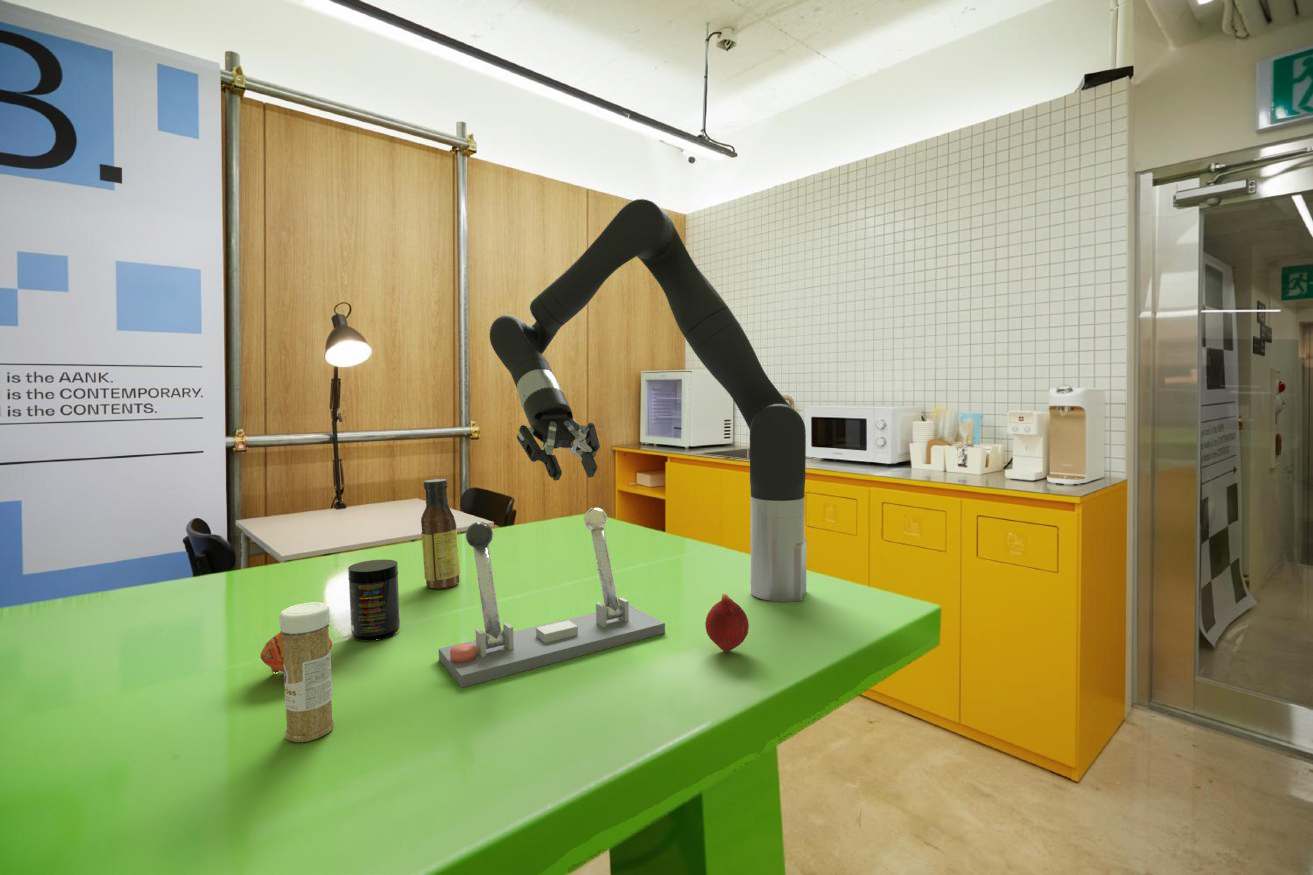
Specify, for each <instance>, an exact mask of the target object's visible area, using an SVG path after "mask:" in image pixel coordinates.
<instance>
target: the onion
mask: <svg viewBox="0 0 1313 875" xmlns="http://www.w3.org/2000/svg"><path fill="white" fill-rule="evenodd" d="M704 623H705V624H704V625H705V631H706V635H707V636H708V638H709V639H710V640H711V641H712V642H713V643H714V644H715V645H716V646H717V647H718V648H719V649H720V650H721V651H723V652H725V653H728V652H731V651H732V650H733V649H735V648H737V647H738V646H740V645H741V644H742V643H744V641H745V640H746V637H747V636H748V634H749V628H750V625H749V624H750V623H749V619H748V616H747V613H746V612H745V611H744V609H743V608H742V607H741V606H740V605H739V603H737V602H735V601H734V600H733V599H731V598H730V597H729V595H728V594H727V593H722V594H721V599H720V600H719V601H718V602H717V603H715V604H714V605H713V606H712V607H711V609H710V610H709V611H708V613H707V615H706V617H705V622H704Z"/></svg>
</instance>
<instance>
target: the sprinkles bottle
mask: <svg viewBox="0 0 1313 875" xmlns="http://www.w3.org/2000/svg"><path fill="white" fill-rule="evenodd" d="M330 613H331V611H330V607H329V605H328V604H327V603H323V602H320V601H319V602H318V601H317V602H315V601H313V602H311V601H310V602H305V603H298V604H295V605H294V604H293V605H291V606H289V607H286V608H284V609H282V611H281V612H280V613H279V630H280V631H282V632H281V633H282V635H283V652H284V664H283V666H284V672H283V682H284V706H285V713H286V714H285V716H286V730H285V738H286V739H287V740H288V741H290V742H293V743H305V742H311V741H314V740H316V739H319V738H322V737H324V736H326V735H327V734H329V733H330V732H331V731H332V730H333V728H334V726H335V722H334V719H333V707H332V706H333V704H332V698H333V685H332V661H331V649H330V648H329V638H330V635H329V634H330V633H329V627H330V622H331V617H330Z"/></svg>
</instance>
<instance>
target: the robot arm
mask: <svg viewBox="0 0 1313 875" xmlns="http://www.w3.org/2000/svg"><path fill="white" fill-rule="evenodd" d="M636 257H637V258H638V259H639V260H640V261H641V262H642V264H643V265H645V267H646V268H647V269H648V271H649V272H650V274H652V276H653V278H654V279H655V280H656V282H658V283H657V284H659V286H660V287H661V289H662V291H663V292H664V294H665V297H666V299H667V302H668V305H669V308H670V311H671V314H672V315H673V318H674V320H675V321H676V325H677V327H678V329H679V330H680V332H681V334H682V335H683V337H684V338H685V340H686V341H687V343H688V345H689V346H690V348H691V349H692V351H693V352H694V354H695V355H696V357H697V358H698V359H699V360H700V362H701V363H702V365H703V366H704V367H705V368H706V370H708V372H709V373H710V374H711V375H712V376H713V378H714V379H715V380H716V381H717V382H718V383H719V384H720V385H721V386H722V387H723V389H724V390H725V391H726V392H727V393H728V394H729V396H730V397H731V399H732V400H733V402H734V403H735V405H736V406H737V408H738V410H739V412H740V414H741V416H742V417H743V419H744V421H745V423H746V425H747V427H748V430H749V482H750V484H749V485H750V487H749V488H750V593H751V595H752V596H754V597H755V598H758V599H760V600H765V601H769V602H770V601H771V602H792V601H793V602H794V601H797V602H802V601H803V598H804V597H805V594H806V592H807V538H806V537H805V505H806V504H805V501H806V500H805V499H806V498H805V497H806V496H805V494H806V492H805V490H806V489H805V488H806V455H807V453H806V452H807V440H806V439H807V434H806V425H805V421H804V419H803V418H802V416H801V415H800V413H799V412H798V411H796V409H795V408H793V406H791V405H790V404H789V402H788V401H787V400H786V399H785V397H783V395H782V394H781V392H780V391H779V390H778V388H776V387H775V385H774V384H773V383H772V381H771V380H770V379H769V377H768V375H767V374H766V372H765V370H764V368H763V367H762V365H761V362H760V361H759V358H758V357H757V353H756V351H755V350H754V347H753V346H752V343H751V342H750V340H749V337H747V334H746V333H745V331H744V329H743V328H742V326H741V324H740V322H739V321H738V319H737V318H736V317H735V314H734V313H733V312H732V310H731V309H730V308H729V306H728V304H727V303H726V302H725V301H724V299H723V298H722V297H721V295H720V293H719V292H718V291H717V290H716V288H715V287H714V286H713V285H712V284H711V282H710V281H709V279H708V278H707V277H706V276H705V275H704V274H703V273H702V271H700V269H699V268H698V267H697V265H696V263H695V262H694V260H693V258H692V256H691V255H690V253H689V252H688V249H687V248H686V246H685V244H684V242H683V240H682V238H681V236H680V235H679V232H678V230H677V228H676V226H675V224H674V222H673V220H672V218H671V217H670V215H669V214H668V212H666V211H665V210H664V209H662V207H661V206H660V205H658V204H657V203H655V202H653V201H652V200H649V199H645V198H636V199H634V200H630V201H629V202H627V203H626V204H625V205H623V206H622V208H620V210H619V211H618V212H617V213H616V215H615V216H614V217H613V218H612V219H611V221H610V222H609V223H608V224H607V225H606V227H605V228H604V230H602V232H601V233H600V235H599V236H598V237H597V238H596V239H595V240H594V241H593V242H592V243H591V244H590V246H589V247H588V248H587V249H586V250H585V251H584V253H582V254H581V255H580V256H579V258H578V259H577V260H575V262H574V263H573V264H571V265H570V267H568V268H567V269H566V270H565V271H564V272H563V273H561V275H560V276H559V277H558V278H556V279H555V280H554V281H553V282H552V283H550V285H548V286H547V287H546V288H545V289H544V290H543V291H541V292H540V293H539V294H538V295H537V296H536V297H535V298H534V299H533V300H532V301H531V303H530V305H529V310H530V314H531V316H532V317H533V319H534V320H535V323H534V324H532V325H529V324H528V323H526V322H525V321H523V320H522V319H521V318H519V317H516V316H515V315H512V314H511V315H510V314H504V315H499V317H497V318H496V319H495V320H493V323H492V324H491V326H490V330H489V341H490V345H491V347H492V349H493V351H494V353H495V355H497V357H498V358H499V360H500V361H501V362H502V364H503V366H504V367H505V368H506V369H507V370H508V372H509V373H510V374H511V378H512V381H513V383H514V386H515V388H516V390H517V393H518V398H519V401H520V404H521V407H522V409H523V411H524V414H525V416H526V419H527V420H528V421H527V422H528V424H529V426H530V427H528V426H526V425H525V424H522V425H520V426H519V430H518V432H517V435H516V439H517V441H518V442H519V444H520V445H521V447H522V448H523V450H524V452H525V453H526V455H527V457H528V458H529V460H530V461H531V462H532V463H535V462H537V461H540V462H541V463H542V464H544V467H545V470H546V472H547V475H548V476H549V477H550V478H551V479H553V481H560V478H561V477H562V473H563V472H562V468H561V466H560V464H559V462H558V459H557V456H556V454H553V453H554V449H559V448H563V449H568V451H570V453H572V454H575V455H576V456H577V457H578V458H579V459H580V460H581V461H580V462H581V465H582V467H583V469H584V471H585V474H586V476H587V478H594V476H595V474H596V472H597V470H598V465H597V462H596V461H595V460H596V459H595V457H596V456H597V453H598V451H599V450H600V447H601V446H600V442H599V437H598V434H597V429H596V426H595V424H594V423H593V422H589V423H587V425H582V424H581V425H580V424H579V423H578V422H577V420H575V419H574V416H573V411H572V408H571V406H570V404H569V401H568V400H567V397H566V396H565V393H564V391H563V389H562V387H561V385H560V382H559V381H558V379H557V378H556V377H555V375H554V373H553V371H552V369H551V366H550V364H549V361H548V360H547V358H546V357H545V356H544V355H543V354H544V352H545V351H546V350H547V349H548V347H549V345H550V343H551V342H552V340H553V339H554V338H555V336H556V335H557V333H558V332H559V331H560V329H561V328H562V327H563V326H564V325H565V324H567V323H568V322H569V321H570V320H572V318H574V317H575V316H576V315H577V314H578V313H579V312H580V311H582V310H583V309H584V308H585V307H586V306H587V305H588V304H589V302H591V300H592V299H593V298H594V296H595V295H596V293H597V292H598V290H599V289H600V288H601V287H602V285H604V283H605V281H606V280H608V278H609V277H610V276H612V275H613V274H614V272H616V271H617V270H618V269H619V268H621V267H622V266H623V265H625V264H626V263H628V262H629V261H631V260H633V259H634V258H636ZM535 438H536V439H537V440H539V441H540V442H541V443H542V446H541V447H540V445H539V443H538V442H537V440H536V439H535Z"/></svg>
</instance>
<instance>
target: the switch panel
mask: <svg viewBox="0 0 1313 875" xmlns="http://www.w3.org/2000/svg"><path fill="white" fill-rule="evenodd" d="M617 601H618V604H620V605H621V606H622V608H623V616H622V617H619V618H615V619H611V620H606V606H605V605H604V603H601V602H596V603H595V612H592V613H588V614H584V615H580V616H575V617H571V618H565V619H562V620H557V621H554V622H550V623H545V624H541V625H536V626H532V627H527V628H523V629H519V630H514V626H512V624H511V623H509V622H504V623H503V625H502V627H503V629H502V630H503V631H504V633H505V637H506V643H505V645H502V646H498V647H494V648H490V649H486V647H485V631H484V630H482V629H481V628H477V629H475V639H474V640H471V641H470V640H469V641H466V642H462V643H458V644H453V645H448V646H444V647H440V648H438V660H439V661H440V662H441V664H442V665H443V666H444V668H445V669H446V670H447V671H448V673H449V674H450V675H451V676H452V677H453V679H454V680H455V682H456V683H457V684H458V685H459V686H460V687H461V688H465V687H469V686H473V685H478V684H480V683H484V682H487V681H491V680H492V681H493V680H495V679H499V678H502V677H503V678H504V677H506V676H507V677H508V676H510V675H514V674H517V673H521V672H526V671H528V670H533V669H538V668H540V667H545V666H547V665H551V664H554V663H560V662H562V661H567V660H571V659H573V658H578V657H580V656H585V655H588V654H593V653H596V652H599V651H600V652H601V651H604V650H607V649H611V648H614V647H619V646H622V645H625V644H629V643H633V642H636V641H641V640H644V639H647V638H648V639H649V638H652V637H655V636H659V635H663V634H665V633H666V623H665V622H664V621H662V620H660V619H657V618H656V617H654V616H652V615H650V614H648V613H646V612H644V611H642V610H640V609H638V608H636V607H634V606H632V605H630V604H629V600H628V599H625V598H624V597H617Z"/></svg>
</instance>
